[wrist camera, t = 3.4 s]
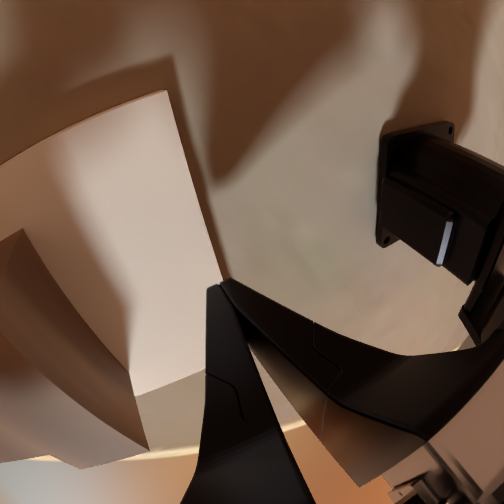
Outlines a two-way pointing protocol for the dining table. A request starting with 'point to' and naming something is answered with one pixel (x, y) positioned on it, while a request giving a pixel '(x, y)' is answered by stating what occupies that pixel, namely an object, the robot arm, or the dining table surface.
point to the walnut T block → (57, 373)
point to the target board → (121, 234)
